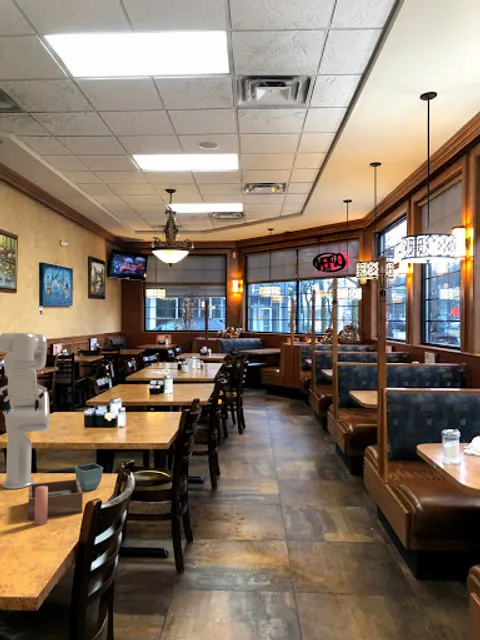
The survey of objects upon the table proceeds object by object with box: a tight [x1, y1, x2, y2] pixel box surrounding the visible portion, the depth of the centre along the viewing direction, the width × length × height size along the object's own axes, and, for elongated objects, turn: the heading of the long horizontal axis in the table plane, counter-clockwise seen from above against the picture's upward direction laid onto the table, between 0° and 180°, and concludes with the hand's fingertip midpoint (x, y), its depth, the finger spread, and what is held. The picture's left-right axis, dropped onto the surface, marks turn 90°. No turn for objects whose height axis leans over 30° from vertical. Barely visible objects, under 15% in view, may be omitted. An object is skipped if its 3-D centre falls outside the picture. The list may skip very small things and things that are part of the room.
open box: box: [27, 478, 84, 520], centre depth 182 cm, size 18×18×7 cm
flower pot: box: [74, 463, 104, 492], centre depth 204 cm, size 9×9×9 cm
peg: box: [34, 486, 48, 526], centre depth 167 cm, size 4×4×12 cm
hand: (21, 411), depth 184 cm, fingers open, 9 cm apart
